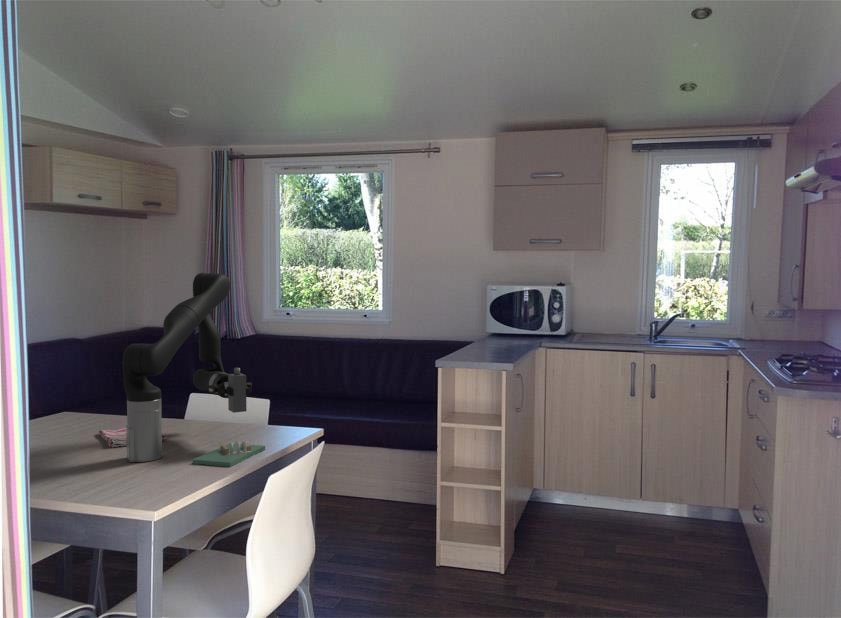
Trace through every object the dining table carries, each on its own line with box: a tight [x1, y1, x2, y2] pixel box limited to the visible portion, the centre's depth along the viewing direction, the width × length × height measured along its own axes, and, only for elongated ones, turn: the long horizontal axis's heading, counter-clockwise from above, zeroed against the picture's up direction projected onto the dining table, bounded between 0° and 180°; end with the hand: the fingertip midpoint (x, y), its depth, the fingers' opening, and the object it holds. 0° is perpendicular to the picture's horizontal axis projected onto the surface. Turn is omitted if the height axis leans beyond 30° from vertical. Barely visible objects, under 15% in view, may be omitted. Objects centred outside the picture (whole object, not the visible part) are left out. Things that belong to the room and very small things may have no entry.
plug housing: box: [227, 367, 247, 414], centre depth 211 cm, size 4×5×13 cm
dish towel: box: [98, 427, 167, 448], centre depth 227 cm, size 17×23×4 cm
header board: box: [191, 440, 266, 468], centre depth 203 cm, size 20×12×4 cm, turn 165°
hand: (240, 392), depth 209 cm, fingers closed on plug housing, 4 cm apart
